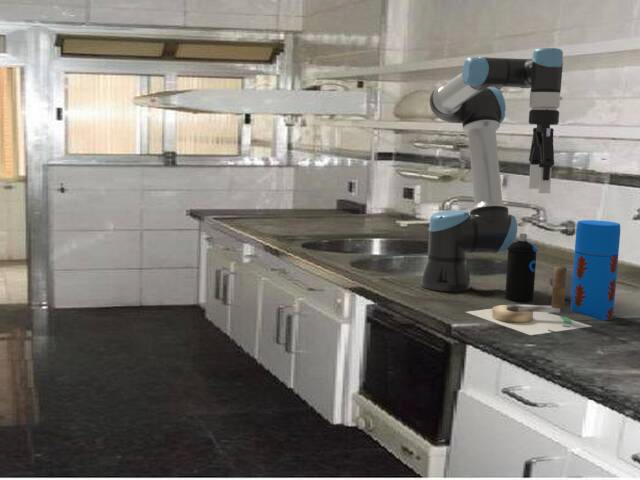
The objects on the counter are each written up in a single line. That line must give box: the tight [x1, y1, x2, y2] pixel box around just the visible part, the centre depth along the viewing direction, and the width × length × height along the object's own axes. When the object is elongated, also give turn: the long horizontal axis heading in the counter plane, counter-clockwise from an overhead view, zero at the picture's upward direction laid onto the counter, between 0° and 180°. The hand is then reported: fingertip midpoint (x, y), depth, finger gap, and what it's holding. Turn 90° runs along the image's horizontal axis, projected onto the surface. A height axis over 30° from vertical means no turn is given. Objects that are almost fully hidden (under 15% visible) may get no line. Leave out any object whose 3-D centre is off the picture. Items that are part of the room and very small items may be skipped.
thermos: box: [570, 219, 621, 322], centre depth 205 cm, size 11×11×25 cm
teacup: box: [549, 268, 573, 301], centre depth 226 cm, size 14×11×8 cm
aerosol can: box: [504, 232, 538, 303], centre depth 217 cm, size 8×8×20 cm
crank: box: [491, 266, 568, 323], centre depth 195 cm, size 18×10×13 cm, turn 85°
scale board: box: [465, 308, 592, 336], centre depth 196 cm, size 24×21×2 cm
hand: (538, 190), depth 205 cm, fingers open, 13 cm apart
